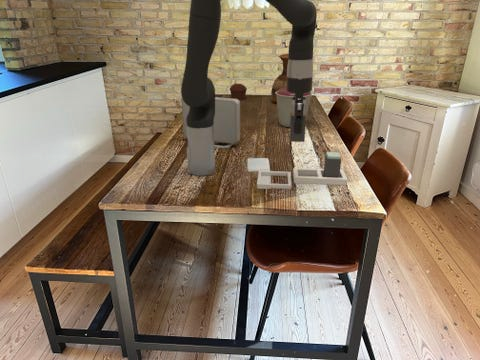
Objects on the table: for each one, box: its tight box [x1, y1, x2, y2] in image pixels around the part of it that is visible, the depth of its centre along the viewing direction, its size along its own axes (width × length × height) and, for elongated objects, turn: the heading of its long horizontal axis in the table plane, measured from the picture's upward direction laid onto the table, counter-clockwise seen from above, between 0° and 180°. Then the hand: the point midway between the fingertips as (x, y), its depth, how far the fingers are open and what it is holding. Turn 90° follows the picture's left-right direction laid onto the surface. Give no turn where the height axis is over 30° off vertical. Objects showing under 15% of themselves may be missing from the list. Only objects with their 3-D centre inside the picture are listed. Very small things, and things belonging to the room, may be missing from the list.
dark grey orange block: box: [289, 110, 307, 143], centre depth 111 cm, size 4×4×9 cm
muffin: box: [229, 83, 248, 102], centre depth 236 cm, size 12×11×10 cm
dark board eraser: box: [323, 151, 342, 178], centre depth 118 cm, size 4×4×9 cm
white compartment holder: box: [292, 167, 348, 186], centre depth 120 cm, size 17×8×3 cm, turn 84°
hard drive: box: [246, 157, 271, 173], centre depth 132 cm, size 2×8×12 cm
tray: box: [256, 170, 292, 190], centre depth 118 cm, size 11×11×2 cm
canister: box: [275, 88, 313, 128], centre depth 178 cm, size 18×18×21 cm
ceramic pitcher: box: [270, 53, 289, 103], centre depth 223 cm, size 20×20×30 cm
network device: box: [180, 96, 241, 149], centre depth 152 cm, size 26×9×20 cm, turn 68°
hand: (297, 130), depth 112 cm, fingers closed on dark grey orange block, 4 cm apart
